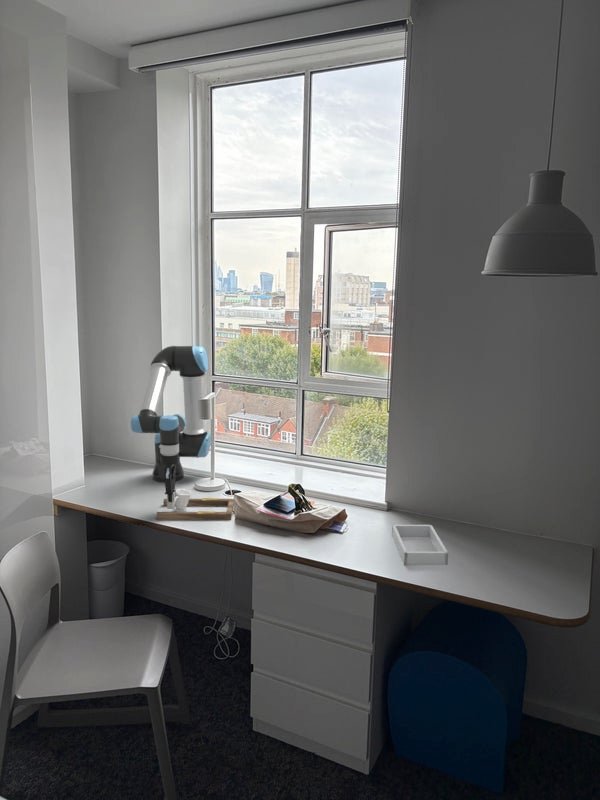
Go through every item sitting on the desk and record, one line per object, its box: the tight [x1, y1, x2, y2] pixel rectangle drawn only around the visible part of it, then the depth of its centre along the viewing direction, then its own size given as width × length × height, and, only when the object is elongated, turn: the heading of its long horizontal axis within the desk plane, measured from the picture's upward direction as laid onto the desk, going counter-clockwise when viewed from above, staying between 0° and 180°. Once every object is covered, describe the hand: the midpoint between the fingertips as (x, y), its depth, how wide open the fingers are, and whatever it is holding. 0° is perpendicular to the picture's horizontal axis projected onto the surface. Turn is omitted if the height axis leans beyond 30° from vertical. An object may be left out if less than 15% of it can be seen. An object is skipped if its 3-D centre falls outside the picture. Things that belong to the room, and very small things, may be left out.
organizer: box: [391, 524, 449, 566], centre depth 221 cm, size 24×15×4 cm, turn 2°
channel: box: [155, 497, 235, 521], centre depth 255 cm, size 17×30×3 cm, turn 92°
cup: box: [172, 488, 192, 512], centre depth 254 cm, size 7×10×8 cm
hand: (170, 508), depth 254 cm, fingers closed
